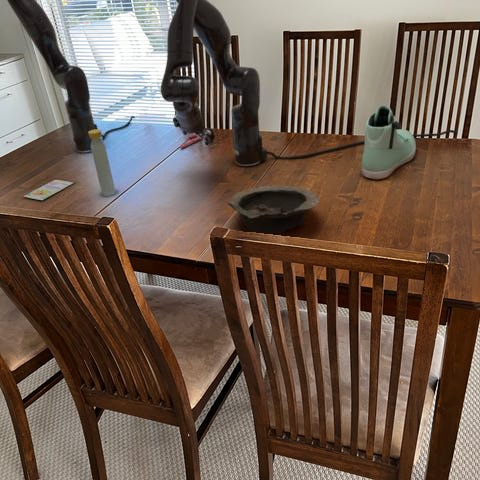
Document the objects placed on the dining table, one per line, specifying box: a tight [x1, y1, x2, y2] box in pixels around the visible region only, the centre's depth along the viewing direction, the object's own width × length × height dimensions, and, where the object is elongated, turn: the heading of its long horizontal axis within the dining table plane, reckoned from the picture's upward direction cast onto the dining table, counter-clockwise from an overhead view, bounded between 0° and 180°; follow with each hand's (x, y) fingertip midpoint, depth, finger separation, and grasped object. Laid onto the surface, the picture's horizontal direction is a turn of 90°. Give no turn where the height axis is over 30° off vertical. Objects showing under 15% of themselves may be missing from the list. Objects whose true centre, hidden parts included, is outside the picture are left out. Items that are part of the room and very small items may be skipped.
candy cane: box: [179, 133, 201, 149], centre depth 196 cm, size 6×15×2 cm, turn 145°
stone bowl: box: [226, 184, 320, 236], centre depth 133 cm, size 25×25×9 cm
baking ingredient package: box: [23, 179, 74, 201], centre depth 165 cm, size 9×1×15 cm
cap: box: [88, 128, 103, 139], centre depth 149 cm, size 4×4×2 cm
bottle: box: [91, 137, 116, 197], centre depth 154 cm, size 4×4×21 cm
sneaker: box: [361, 105, 417, 180], centre depth 160 cm, size 14×34×20 cm, turn 152°
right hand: (196, 137), depth 165 cm, fingers open, 8 cm apart
